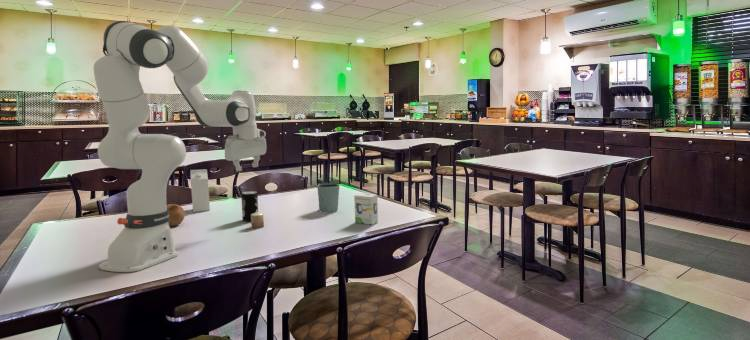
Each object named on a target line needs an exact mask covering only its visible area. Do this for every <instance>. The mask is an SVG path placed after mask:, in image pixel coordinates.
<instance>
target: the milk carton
mask: <svg viewBox="0 0 750 340" xmlns="http://www.w3.org/2000/svg"><path fill="white" fill-rule="evenodd" d="M208 175H209V174H208V169H205V168H204V169H203V168H202V169H190V187H191V203H192V211H193V213H198V212H207V211H211V206H210V192H209V191H210V188H209V177H208Z"/></svg>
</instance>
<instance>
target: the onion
mask: <svg viewBox="0 0 750 340" xmlns="http://www.w3.org/2000/svg"><path fill="white" fill-rule="evenodd" d="M167 209H168V211H169V221H168V223H169V227H176V226H179V225H180V224H182V222H183V221H184V220H185V215H186V213H185V210H184V208H183V207H182V206H181V205H179V204H176V203H170V204H167Z"/></svg>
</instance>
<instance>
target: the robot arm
mask: <svg viewBox="0 0 750 340" xmlns="http://www.w3.org/2000/svg"><path fill="white" fill-rule="evenodd" d="M102 52H103V55H104V56H102V57H100V58H98V59H97V60H96V61H95V62H94V64H93V76H94V81H95V84H96V88H97V92H98V94H99V97H100V99H101V103H102V105H103V106H102V107H103V108H104V111H105V114H106V117H107V120H108V121H107V122H108V131H107V134H106V136H105V137H103V138H102V139H101V140H100V142H99V145H98V147H97V154H98V158H99V160H100V162H101V163H102V164H103V165H104V166H106V167H109V168H112V169H113V168H115V169H120V170H141V176H140V179H139V180H136V181H135V182H133V183H131V184H130V185H129V186H128V187H127V189H126V204H127V205H126V206H127V213H126V216H125V217H118V218H117V220H116V223H117V224H118V225H123V227H124V228H123V229H122V230H121V231H120V233H119V234H118V235H117V236H116V237H115V238H114V239H113V241H112V242H111V243H110V244H109V246H108V247H107V248H108V249H107V259H106V260H105V261H103V262H101V263H99V264H98V269H100V270H102V271H107V272H115V273H131V272H139V271H141V270H144V269H148V268H149V267H152V266H154V265H156V264H157V265H158V264H160V263H162V262H165V261H168V260H170V259H173V258H175V257H178V256H179V254H178V251H177V250H176V249H177V248H176V247H175V242H174V236H173V232H172V229H171V226H169V223H168V221H169V211H168V209H167V205H168V204H167V186H168V183H169V179H170V177H171V175H172V174H173V172H174V171H175V170H176V169H177V168H178V167H180V166H181V165H182V163H183V162H184V161H185V159H186V155H187V149H186V145H185V143H184V141H183V140H182V139H181V138H180V137H178V136H177V135H176V136H175V135H170V134H165V133H141V132H140V130H139V127H141V126H143V125H144V124H146V123H147V122H148V120H149V118H150V115H151V110H150V107H149V105H148V101H147V98H146V95H145V91H144V89H143V85H142V84H141V81H140V69H141V67H142V68H145V69H157V68H160V67H161V68H162V66H164V65H166V67H167V68H168V69H169V70H170V72H171V73H172V74H173V81H174V84H175V86H176V87H177V89H178V91H179V92H180V94H181V95H182V97H183V98H184V100H185V101H186V102H187V104H188V105H189V106H190V108H191V111H192V113H193V115H194V117H195V119H196V121H197V122H198V123H199V125H200V126H202V127H204V128H215V127H216V128H217V127H220V128H221V127H222V128H224V127H225V128H227V127H229V128H230V127H231V128H232V135H228V136H227V138H226V139H225V144H224V159H225V160H226V161H229V162H231V161H232V163H233V166H235V171H236V172H241V171H243V166H242V165H240V162H241V160H244V159H248V158H253V162H251V165H252V168H258V167H259V161H260V157H261V156H262V155H265V154H266V153H267V139H266V135H267V134H266V133H267V132H266V131H264V130H262V129H260V128H258V127H257V121H256V116H257V110H256V109H257V106H256V101H255V97H254V94H253V93H252V92H251V91H247V90H234V91H232V94H231V96H229V97H228V98H226V99H224V100H223V99H222V100H220V99H219V100H216V99H215V100H214V99H210V98H207V97H205V95H204V93H203V92H202V91H201V89H200V88H199V84H200V83H201V82H203V80H204V79H205V78H206V76H207V74H208V71H209V63H208V61H207V59H206V57H205V55H204V54H203V52H202V51H201V50H200V48H199V47H198V46H197V44H196V43H195V42H194V41H193V40H192V39H191V38H190V37H189V36H188V35H187V34H186V33H185V32H184V31H183V30H182V29H181V28H179V27H178V26H176V25H171V24H168V25H163V26H161V27H159V28H158V29H157V30H154V29H152V28H149V27H146V26H145V25H142V24H140V23H134V22H130V21H127V20H123V21H122V20H119V21H114V22H112V23H110V24H109V25H107V26H106V28H105V30H104V32H103V45H102Z"/></svg>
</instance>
